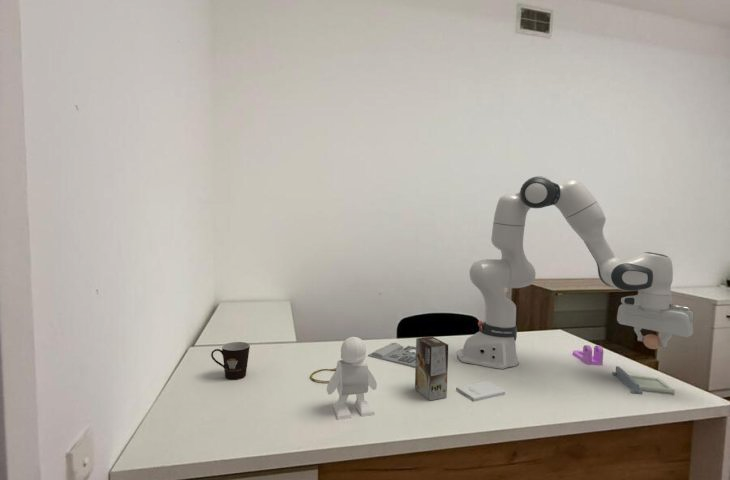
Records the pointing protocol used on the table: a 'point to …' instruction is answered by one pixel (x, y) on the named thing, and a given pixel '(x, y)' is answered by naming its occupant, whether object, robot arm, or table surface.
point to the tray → (652, 384)
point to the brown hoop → (319, 371)
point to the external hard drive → (480, 391)
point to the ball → (651, 341)
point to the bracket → (590, 355)
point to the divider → (627, 380)
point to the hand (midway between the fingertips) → (651, 343)
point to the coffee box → (431, 368)
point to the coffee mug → (234, 359)
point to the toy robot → (352, 378)
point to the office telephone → (396, 354)
